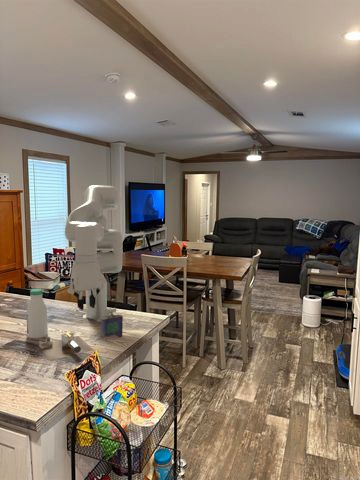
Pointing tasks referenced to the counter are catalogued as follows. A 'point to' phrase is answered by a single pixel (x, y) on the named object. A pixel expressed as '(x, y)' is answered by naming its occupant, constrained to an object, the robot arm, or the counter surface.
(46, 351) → the lever stand
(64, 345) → the crank handle
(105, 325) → the flask
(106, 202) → the robot arm
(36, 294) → the milk bottle
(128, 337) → the counter surface
